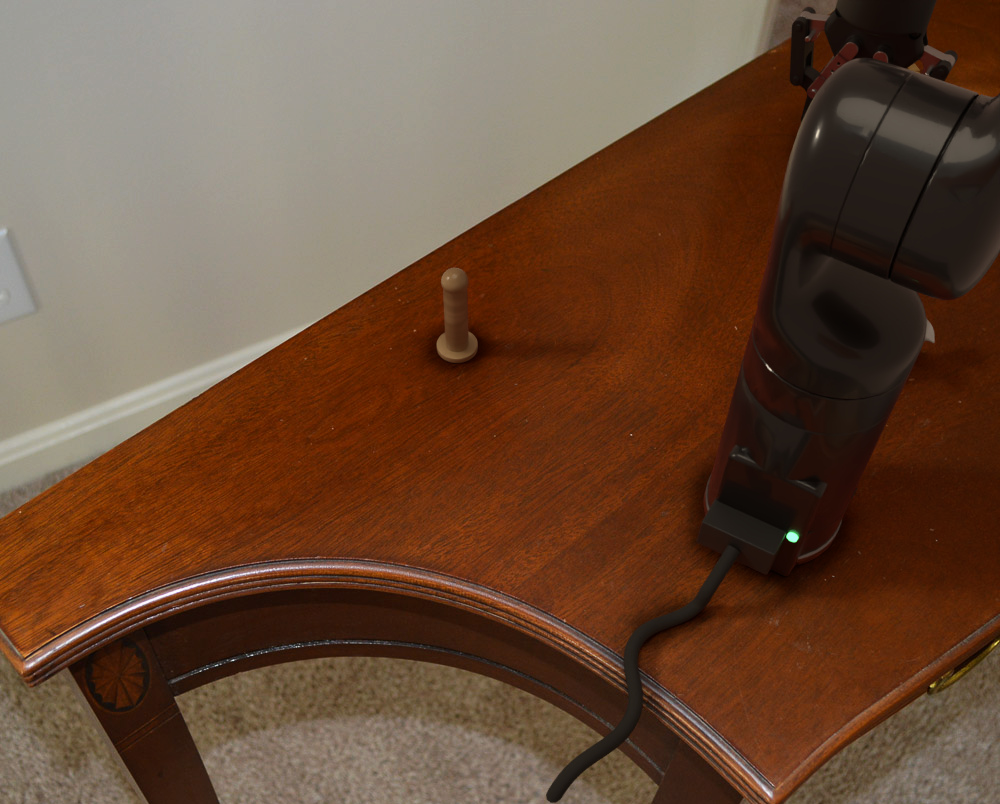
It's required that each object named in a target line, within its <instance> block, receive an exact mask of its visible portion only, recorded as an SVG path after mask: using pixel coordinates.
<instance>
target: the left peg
mask: <svg viewBox="0 0 1000 804" xmlns="http://www.w3.org/2000/svg"><path fill="white" fill-rule="evenodd" d="M469 282H470V281H469V277H468V274H467V273H466V271H464V270H463V269H461V268H459V267H450V268H448V269H446V271H444V273H443V274H442V275H441V279H440V284H441V285H440V286H441V288H442V300H443V319H444V332H443V333H441V334H440V336H439V337H438V339H437V340H436V352H437V354H438V356H439V357H440V358H441V359H442V360H444V361H446V362H449V363H452V364H462V363H465V362H468V361H470V360H472V359H473V358H474V357H475V356H476V354H477V353H478V349H479V343H478V339H477V337H476V336H475V335H474V334H473V333H472V332H471V331H469V301H468V296H469V295H468V294H469V293H468V287H469Z"/></svg>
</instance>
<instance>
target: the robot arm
mask: <svg viewBox="0 0 1000 804" xmlns="http://www.w3.org/2000/svg"><path fill="white" fill-rule="evenodd" d="M937 1H938V0H836V5H835V8H834V10H833V11H832V12H831V13H830V14H829V15H828V14H821V13H817V12H816V9H814V7H811V6H806V7H804V8H803V10H802V11H801V12H800V13H799V14H798V16H797V17H796V18H795V20H794V21H793V23H792V24H791V33H790V34H791V35H790V36H791V38H790V39H791V40H790V60H789V82H790V84H791V85H792V86H794V87H801V88H802V89H803V90H804V91H805V93H806V98H805V102H804V106H803V109H802V114H801V116H800V125H799V127H798V131H797V133H796V136H795V139H794V142H793V145H792V148H791V151H790V154H789V157H788V160H787V164H786V169H785V172H784V176H783V180H782V185H781V190H780V193H779V200H778V204H777V210H776V214H775V220H774V224H773V225H774V226H773V230H772V236H771V241H770V247H769V251H768V255H767V260H766V264H765V269H764V273H763V275H762V280H761V284H760V288H759V293H758V297H757V304H756V305H757V306H756V307H757V308H756V312H755V314H754V319H753V322H752V326H751V329H750V332H749V336H748V340H747V344H746V347H745V350H744V353H743V357H742V359H741V360H742V361H741V363H740V367H739V371H738V376H737V378H736V381H735V385H734V390H733V393H732V397H731V401H730V404H729V407H728V411H727V416H726V419H725V422H724V425H723V430H722V432H721V436H720V440H719V444H718V448H717V451H716V455H715V459H714V464H713V467H712V471H711V473H710V475H709V478H708V480H707V482H706V486H705V490H704V495H703V502H702V503H703V504H702V505H703V512H704V517H703V519H702V521H701V523H700V527H699V531H698V534H697V538H696V543H697V544H699V545H701V546H703V547H705V548H707V549H710V550H712V551H714V552H716V553H718V554H720V555H721V556H720V557H719V559H718V560H717V562H716V564H715V565H714V566H713V568H712V570H711V571H710V573H709V574H708V576H707V577H706V579H705V580H704V582H703V583H702V585H701V587H700V589H699V590H698V592H697V593H696V595H695V597H694V598H693V599H692V600H690V602H688V603H687V604H686V605H684V606H683V607H681V608H679V609H677V610H674V611H671V612H669V613H666V614H662V615H659V616H657V617H654V618H652V619H649V620H647V621H645V622H643V623H642V624H641V625H639V626H638V627H637V628H636V629H634V631H633V632H632V634H630V636H629V638H628V640H627V641H626V644H625V647H624V650H623V652H624V653H623V670H624V676H625V677H624V678H625V683H626V688H627V696H628V697H627V700H628V701H627V706H626V710H625V713H624V714H623V716H622V718H621V720H620V721H619V723H618V724H617V725H616V726H615V727H614V728H613V730H611V732H609V733H608V734H607V735H605V736H604V737H603V738H602V739H599V741H597V742H595V743H594V744H592V745H591V746H589V747H588V748H587V749H585V750H583V751H582V752H581V753H580V754H578V755H577V756H575V757H574V758H573V759H572V760H571V761H570V762H569V763H568V764H566V765H565V767H564V768H563V769H562V770H561V771H560V772H559V774H558V775H557V776H556V777H555V779H554V780H553V781H552V783H551V785H550V786H549V788H548V789H547V792H546V794H545V797H546V798H545V799H546V801H548V802H549V803H550V804H553V803H554V804H557V803H558V802H559V801H561V800H562V798H563V797H564V795H565V794H566V792H567V791H568V789H569V788H570V787H571V785H572V784H573V783H574V782H575V781H576V780H577V779H578V778H579V777H580V776H581V775H582V774H583V773H584V772H586V770H588V769H589V768H590V767H592V766H593V765H594V764H596V763H598V762H599V761H601V760H602V759H603V758H604V757H606V756H608V755H610V754H611V753H612V752H614V751H615V750H616V749H618V748H619V747H620V746H621V745H622V744H623V743H625V741H626V740H627V739H628V738H629V737H630V736H631V734H632V733H633V732H634V731H635V728H636V726H637V725H638V723H639V721H640V719H641V715H642V713H643V712H642V711H643V706H644V692H643V691H644V690H643V684H642V678H641V674H640V669H639V654H640V651H641V649H642V646H644V643H645V642H646V641H648V639H649V638H650V637H652V636H653V635H656V634H657V633H659V632H662V631H665V630H667V629H670V628H673V627H676V626H678V625H681V624H683V623H686V622H688V621H689V620H691V619H692V618H694V617H695V616H697V615H698V614H699V613H701V612H702V611H703V610H704V609H705V608H706V607H707V606H708V604H709V603H710V601H711V600H712V599H713V597H714V595H715V593H716V592H717V590H718V589H719V588H720V586H721V585H722V583H723V581H724V579H726V577H727V575H728V573H729V572H730V570H731V568H732V567H733V565H734V564H735V563H736V562H737V563H740V564H741V565H744V566H746V567H748V568H750V569H752V570H755V571H757V572H759V573H761V574H763V575H765V576H767V575H768V574H769V572H770V571H772V572H774V573H777V574H779V575H781V576H783V577H788V576H790V574H791V572H792V570H793V569H794V567H795V566H798V565H802V564H806V563H808V562H811V561H812V560H814V559H817V558H818V557H820V556H821V555H822V554H824V553H825V552H826V551H827V550H828V549H829V548H830V546H831V545H832V544H833V542H834V540H835V538H836V537H837V535H838V532H839V530H840V528H841V526H842V522H843V518H844V515H845V513H846V512H847V509H848V507H849V505H850V502H851V500H853V499H854V497H855V495H856V492H857V490H858V485H859V483H860V481H861V478H862V476H863V474H864V472H865V470H866V468H867V466H868V463H869V462H870V461H871V457H872V456H873V453H874V452H875V449H876V447H877V445H878V442H879V440H880V438H881V436H882V434H883V432H884V430H885V428H886V426H887V423H888V421H889V420H890V416H891V414H892V412H893V410H894V408H895V406H896V404H897V402H898V400H899V398H900V397H901V394H902V391H903V389H904V387H905V385H906V384H907V381H908V379H909V376H910V374H911V373H912V371H913V368H914V366H915V363H916V362H917V360H918V357H919V355H920V353H921V351H922V348H923V346H924V342H925V341H924V340H925V336H926V327H927V319H928V317H927V313H926V309H925V306H924V303H923V301H922V298H921V297H920V295H919V294H921V295H924V296H927V297H930V298H932V299H936V300H941V301H953V300H956V299H959V298H962V297H963V296H964V295H966V294H968V293H969V292H970V291H971V290H972V289H973V288H975V286H976V285H978V284H979V283H980V281H981V280H982V279H983V277H985V275H986V274H987V272H988V271H989V270H990V268H991V267H992V265H993V264H994V262H995V261H996V259H997V258H998V256H999V254H1000V92H999V93H998V94H997V95H995V96H989V95H984V94H982V93H981V94H979V92H976V91H973V90H971V89H968V88H965V87H961V86H959V85H956V84H952V83H950V82H947V81H946V79H947V78H948V76H949V75H950V73H951V71H952V70H953V68H954V66H955V64H956V63H957V61H958V59H959V55H958V53H957V52H956V50H952V49H949V50H946V51H944V52H942V51H940V50H938V49H936V48H934V47H933V46H931V45H929V39H928V27H929V24H930V21H931V18H932V15H933V13H934V10H935V7H936V4H937ZM822 32H824V34H825V37H826V40H827V42H828V44H829V46H830V50H831V52H832V55H833V56H832V57H831V58H830V59H829V61H828V62H827V63H826V64H825V66H823V68H822V69H821V71H818V70H817V69H815V67H814V54H815V53H814V51H815V42H816V41H817V40H818V38H819V36H820V35H821V33H822ZM918 61H919V62H920V63H922V65H923V66H922V70H921V72H920V73H916V72H915V71H912V70H909V69H907V68H908V67H909V66H911V65H912V64H914V63H915V64H916V63H917V62H918Z"/></svg>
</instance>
